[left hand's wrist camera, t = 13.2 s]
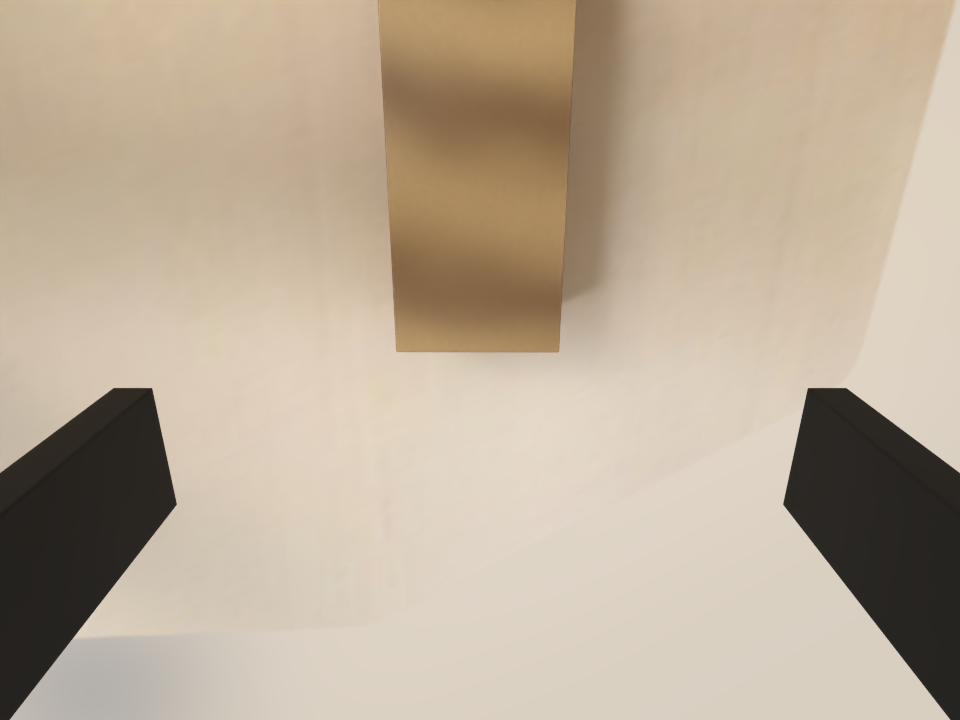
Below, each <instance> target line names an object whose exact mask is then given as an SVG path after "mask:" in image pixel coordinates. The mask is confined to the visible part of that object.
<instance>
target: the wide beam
mask: <svg viewBox="0 0 960 720" xmlns="http://www.w3.org/2000/svg"><path fill="white" fill-rule="evenodd" d="M576 1H577V0H378V12H379V31H380V50H381V69H382V88H383V107H384V126H385V145H386V164H387V183H388V202H389V221H390V240H391V259H392V278H393V297H394V316H395V335H396V351H397V352H559V340H560V320H561V300H562V280H563V260H564V240H565V220H566V200H567V180H568V160H569V140H570V121H571V101H572V81H573V61H574V41H575V21H576Z"/></svg>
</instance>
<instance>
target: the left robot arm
mask: <svg viewBox="0 0 960 720" xmlns="http://www.w3.org/2000/svg"><path fill="white" fill-rule="evenodd" d="M176 505H177V503H176V499H175V494H174V489H173V484H172V480H171V475H170V470H169V466H168V461H167V456H166V452H165V447H164V442H163V437H162V433H161V428H160V423H159V419H158V414H157V409H156V405H155V400H154V395H153V391H152V388H113V389H112V390H111V391H109V392H108V393H107V394H105V395H104V396H103V397H101V398H100V399H99V400H97V401H96V402H95V403H93V404H92V405H91V406H89V407H88V408H87V409H85V410H84V411H83V412H81V413H80V414H79V415H77V416H76V417H75V418H73V419H72V420H71V421H69V422H68V423H67V424H65V425H64V426H63V427H61V428H60V429H59V430H57V431H56V432H55V433H53V434H52V435H51V436H49V437H48V438H46V439H45V440H44V441H42V442H41V443H40V444H38V445H37V446H36V447H34V448H33V449H32V450H30V451H29V452H28V453H26V454H25V455H24V456H22V457H21V458H20V459H18V460H17V461H16V462H14V463H13V464H12V465H10V466H9V467H8V468H6V469H5V470H4V471H2V472H1V473H0V720H10V718H11V717H12V716H13V715H14V713H15V712H16V711H17V709H18V708H19V707H20V706H21V704H22V703H23V702H24V700H25V699H26V698H27V697H28V695H29V694H30V693H31V691H32V690H33V689H34V688H35V686H36V685H37V684H38V682H39V681H40V680H41V679H42V677H43V676H44V675H45V673H46V672H47V671H48V670H49V668H50V667H51V666H52V664H53V663H54V662H55V660H56V659H57V658H58V657H59V655H60V654H61V653H62V652H63V650H64V649H65V648H66V646H67V645H68V644H69V643H70V641H71V640H72V639H73V637H74V636H75V635H76V634H77V632H78V631H79V630H80V628H81V627H82V626H83V625H84V623H85V622H86V621H87V619H88V618H89V617H90V616H91V614H92V613H93V612H94V610H95V609H96V608H97V607H98V605H99V604H100V603H101V601H102V600H103V599H104V598H105V596H106V595H107V594H108V592H109V591H110V590H111V589H112V587H113V586H114V585H115V583H116V582H117V581H118V580H119V578H120V577H121V576H122V574H123V573H124V572H125V571H126V569H127V568H128V567H129V565H130V564H131V563H132V562H133V560H134V559H135V558H136V556H137V555H138V554H139V553H140V551H141V550H142V549H143V547H144V546H145V545H146V543H147V542H148V541H149V540H150V538H151V537H152V536H153V534H154V533H155V532H156V531H157V529H158V528H159V527H160V525H161V524H162V523H163V522H164V520H165V519H166V518H167V516H168V515H169V514H170V513H171V511H172V510H173V509H174V507H175V506H176ZM783 505H784V506H785V507H786V509H787V510H788V511H789V513H790V514H791V515H792V516H793V518H794V519H795V520H796V522H797V523H798V524H799V525H800V527H801V528H802V529H803V531H804V532H805V533H806V534H807V536H808V537H809V538H810V540H811V541H812V542H813V543H814V545H815V546H816V547H817V549H818V550H819V551H820V552H821V554H822V555H823V556H824V558H825V559H826V560H827V562H828V563H829V564H830V565H831V567H832V568H833V569H834V570H835V572H836V573H837V574H838V576H839V577H840V578H841V579H842V581H843V582H844V583H845V585H846V586H847V587H848V589H849V590H850V591H851V592H852V594H853V595H854V596H855V598H856V599H857V600H858V601H859V603H860V604H861V605H862V607H863V608H864V609H865V610H866V612H867V613H868V614H869V616H870V617H871V618H872V619H873V621H874V622H875V623H876V625H877V626H878V627H879V628H880V630H881V631H882V632H883V634H884V635H885V636H886V637H887V639H888V640H889V641H890V643H891V644H892V645H893V646H894V648H895V649H896V650H897V651H898V653H899V654H900V655H901V657H902V658H903V659H904V661H905V662H906V663H907V664H908V666H909V667H910V668H911V670H912V671H913V672H914V673H915V675H916V676H917V677H918V679H919V680H920V681H921V682H922V684H923V685H924V686H925V688H926V689H927V690H928V691H929V693H930V694H931V695H932V697H933V698H934V699H935V700H936V702H937V703H938V704H939V706H940V707H941V708H942V709H943V711H944V712H945V713H946V715H947V716H948V717H949V718H950V720H960V473H959V472H958V471H956V470H955V469H954V468H952V467H951V466H949V465H948V464H947V463H946V462H944V461H943V460H942V459H940V458H939V457H938V456H936V455H935V454H934V453H932V452H931V451H930V450H928V449H927V448H925V447H924V446H923V445H922V444H920V443H919V442H918V441H916V440H915V439H914V438H912V437H911V436H909V435H908V434H907V433H905V432H904V431H903V430H901V429H900V428H899V427H897V426H896V425H895V424H893V423H892V422H891V421H889V420H888V419H887V418H885V417H884V416H883V415H881V414H880V413H879V412H877V411H876V410H875V409H873V408H872V407H871V406H869V405H868V404H867V403H865V402H864V401H863V400H861V399H860V398H859V397H857V396H856V395H855V394H853V393H852V392H851V391H849V390H848V389H847V388H808V391H807V395H806V400H805V405H804V409H803V414H802V419H801V423H800V428H799V433H798V438H797V442H796V447H795V452H794V456H793V461H792V466H791V471H790V475H789V480H788V485H787V489H786V494H785V499H784V503H783Z"/></svg>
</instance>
